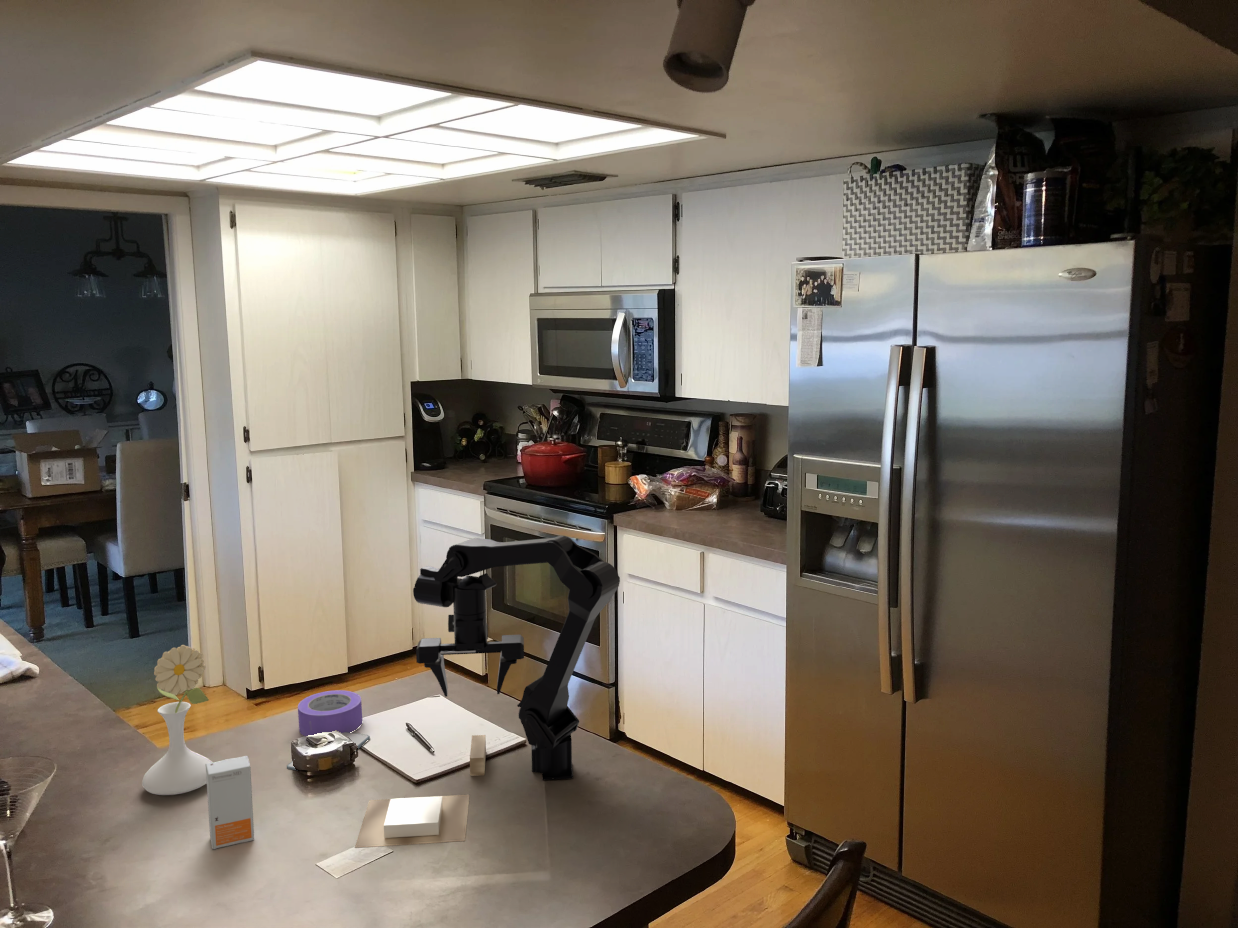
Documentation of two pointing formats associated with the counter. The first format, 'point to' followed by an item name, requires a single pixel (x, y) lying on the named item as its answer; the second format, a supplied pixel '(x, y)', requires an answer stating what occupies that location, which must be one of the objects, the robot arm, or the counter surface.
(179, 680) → the flower in vase
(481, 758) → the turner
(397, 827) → the tile
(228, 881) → the counter surface
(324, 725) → the tape roll
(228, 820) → the skincare box
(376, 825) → the tan flat board
